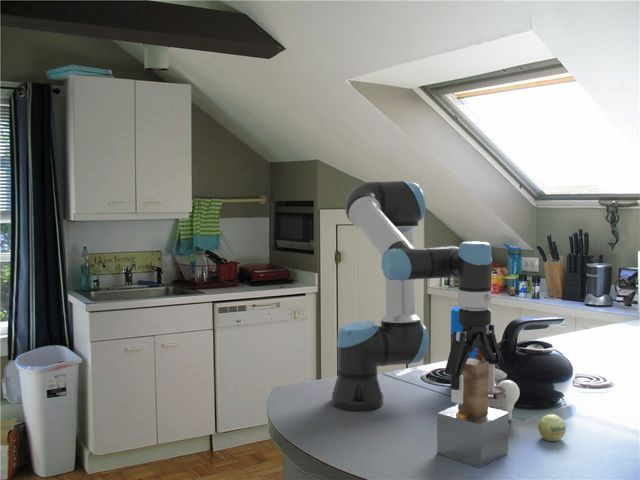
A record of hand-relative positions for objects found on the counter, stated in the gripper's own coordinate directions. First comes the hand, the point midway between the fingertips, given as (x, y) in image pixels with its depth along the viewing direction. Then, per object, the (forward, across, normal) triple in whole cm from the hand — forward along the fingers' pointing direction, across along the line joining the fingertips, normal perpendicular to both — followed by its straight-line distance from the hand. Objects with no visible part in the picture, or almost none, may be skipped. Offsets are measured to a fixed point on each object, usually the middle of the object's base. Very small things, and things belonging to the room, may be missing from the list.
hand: (473, 396), depth 166 cm
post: (+14, 0, 0) cm, 14 cm away
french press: (+14, +20, +8) cm, 26 cm away
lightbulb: (+14, +26, +6) cm, 30 cm away
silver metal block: (+14, 0, 0) cm, 14 cm away
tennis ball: (+14, +22, -9) cm, 28 cm away
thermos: (+14, +44, +30) cm, 55 cm away
